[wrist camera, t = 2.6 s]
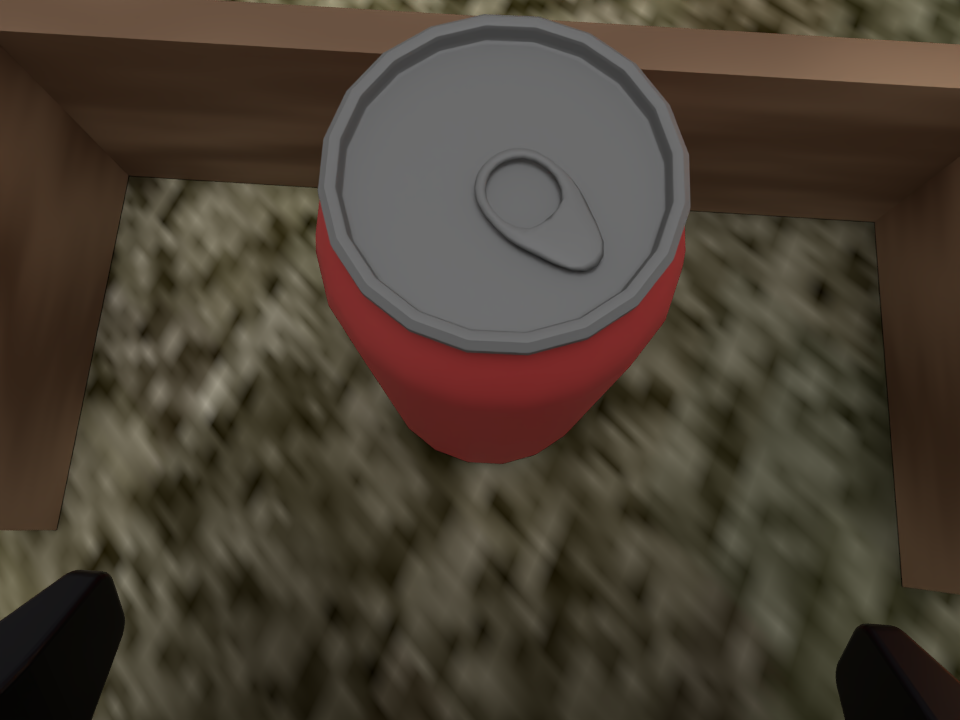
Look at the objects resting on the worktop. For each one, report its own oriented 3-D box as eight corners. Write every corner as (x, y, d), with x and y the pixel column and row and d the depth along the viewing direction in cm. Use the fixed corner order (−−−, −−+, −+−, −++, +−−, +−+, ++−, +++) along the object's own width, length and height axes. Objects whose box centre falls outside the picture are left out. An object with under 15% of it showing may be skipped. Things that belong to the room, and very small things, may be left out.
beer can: (483, 511, 21) (492, 490, 9) (342, 354, 22) (190, 155, 10) (637, 367, 22) (821, 183, 10) (495, 224, 23) (515, -89, 11)
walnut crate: (936, 588, 20) (1223, 626, 13) (22, 527, 21) (-253, 527, 13) (901, 190, 23) (1114, 21, 16) (105, 141, 24) (-76, -49, 16)
